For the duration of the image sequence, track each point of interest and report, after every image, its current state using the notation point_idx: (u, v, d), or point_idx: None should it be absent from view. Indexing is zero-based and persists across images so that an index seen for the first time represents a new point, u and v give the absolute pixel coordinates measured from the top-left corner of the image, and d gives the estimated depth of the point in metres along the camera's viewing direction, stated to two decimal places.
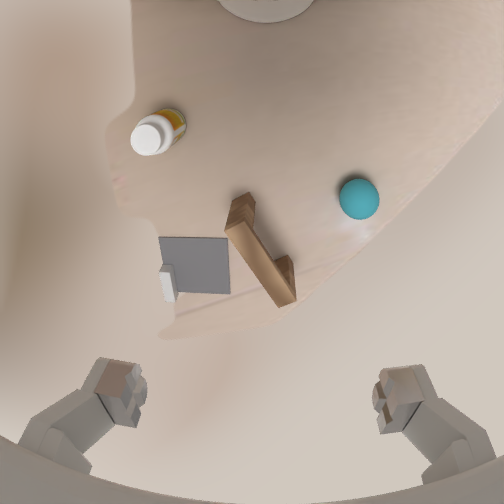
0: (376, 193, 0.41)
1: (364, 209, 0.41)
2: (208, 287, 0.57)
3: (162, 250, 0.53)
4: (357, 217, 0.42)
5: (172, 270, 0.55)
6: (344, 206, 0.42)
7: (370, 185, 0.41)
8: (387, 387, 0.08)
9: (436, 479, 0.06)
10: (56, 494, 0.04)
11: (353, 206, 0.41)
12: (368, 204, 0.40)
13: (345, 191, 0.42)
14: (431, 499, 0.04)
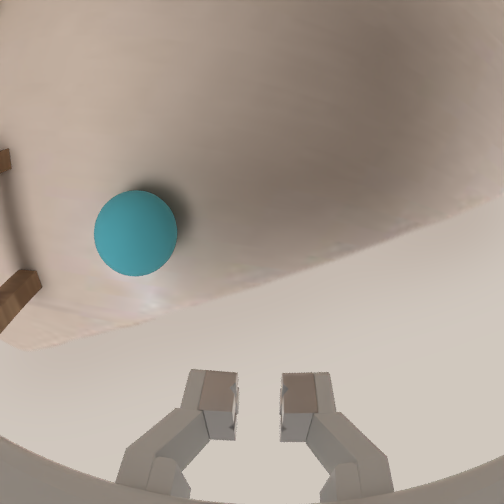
0: (161, 235, 0.19)
1: (117, 255, 0.18)
2: None
3: None
4: (108, 265, 0.19)
5: None
6: (94, 233, 0.19)
7: (157, 213, 0.19)
8: (284, 393, 0.09)
9: (326, 500, 0.06)
10: (56, 494, 0.04)
11: (100, 240, 0.18)
12: (127, 248, 0.18)
13: (105, 205, 0.19)
14: (431, 499, 0.04)
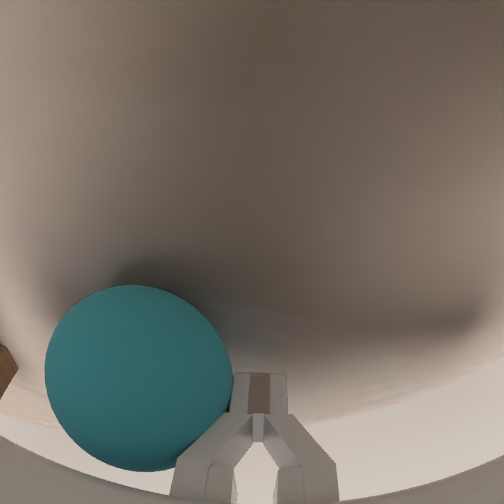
0: None
1: (86, 451, 0.06)
2: None
3: None
4: None
5: None
6: (47, 362, 0.07)
7: (188, 409, 0.06)
8: None
9: (274, 503, 0.06)
10: (56, 494, 0.04)
11: (51, 406, 0.06)
12: (105, 459, 0.06)
13: (65, 328, 0.07)
14: (431, 499, 0.04)
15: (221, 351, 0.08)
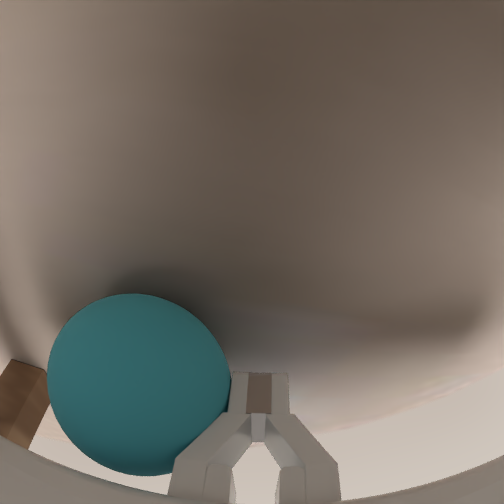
0: None
1: (91, 458, 0.06)
2: None
3: None
4: None
5: None
6: None
7: (182, 411, 0.07)
8: None
9: (276, 503, 0.06)
10: (56, 494, 0.04)
11: (55, 416, 0.07)
12: (107, 464, 0.06)
13: (61, 340, 0.07)
14: (431, 499, 0.04)
15: (214, 352, 0.08)
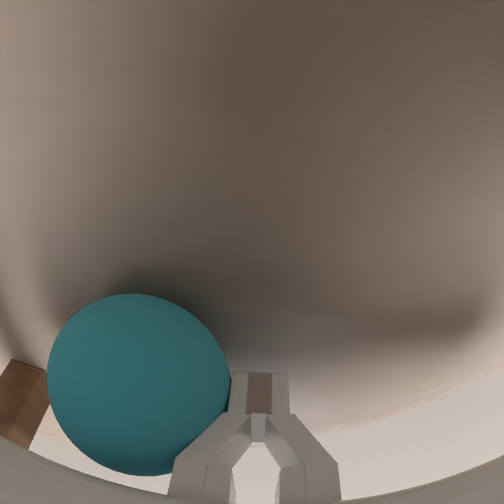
0: None
1: None
2: None
3: None
4: None
5: None
6: None
7: (182, 411, 0.07)
8: None
9: (276, 503, 0.06)
10: (56, 494, 0.04)
11: (55, 416, 0.07)
12: (108, 464, 0.06)
13: (61, 340, 0.07)
14: (431, 499, 0.04)
15: (214, 352, 0.08)
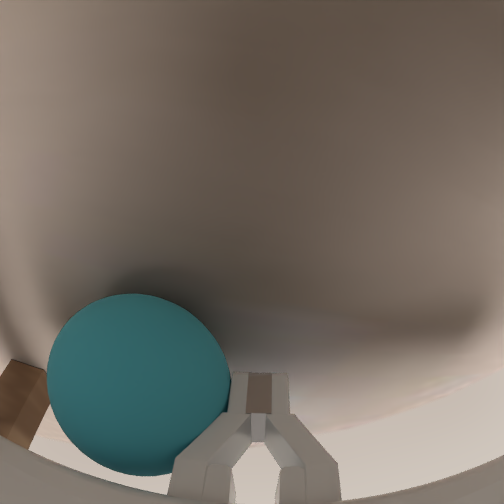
0: None
1: (90, 458, 0.06)
2: None
3: None
4: None
5: None
6: None
7: (182, 411, 0.07)
8: None
9: (276, 503, 0.06)
10: (56, 494, 0.04)
11: (55, 416, 0.07)
12: (108, 464, 0.06)
13: (61, 340, 0.07)
14: (431, 499, 0.04)
15: (214, 352, 0.08)
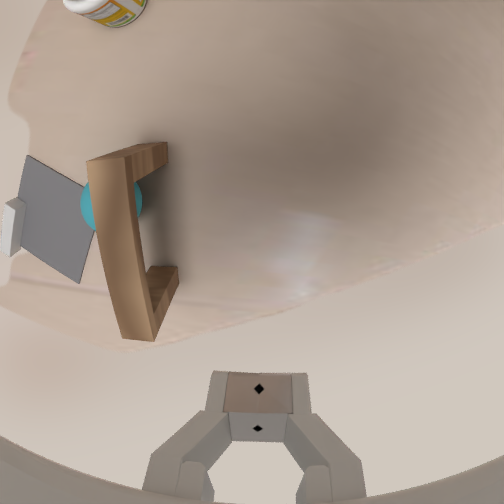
0: None
1: (138, 214, 0.27)
2: (55, 260, 0.32)
3: (23, 176, 0.28)
4: None
5: (22, 211, 0.29)
6: None
7: None
8: (261, 393, 0.09)
9: (299, 502, 0.06)
10: (56, 494, 0.04)
11: None
12: (141, 206, 0.27)
13: None
14: (431, 499, 0.04)
15: None
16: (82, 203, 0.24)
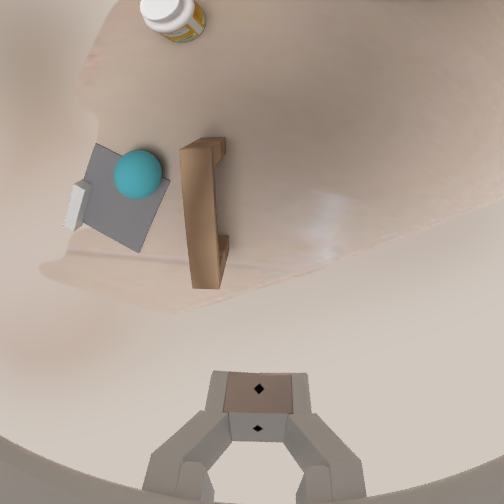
0: (145, 175, 0.33)
1: (120, 183, 0.33)
2: (118, 233, 0.42)
3: (91, 161, 0.37)
4: None
5: (89, 191, 0.38)
6: None
7: (144, 163, 0.33)
8: (261, 393, 0.09)
9: (299, 502, 0.06)
10: (56, 494, 0.04)
11: (114, 175, 0.33)
12: (125, 180, 0.32)
13: (121, 157, 0.33)
14: (431, 499, 0.04)
15: (156, 159, 0.34)
16: None
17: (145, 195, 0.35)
